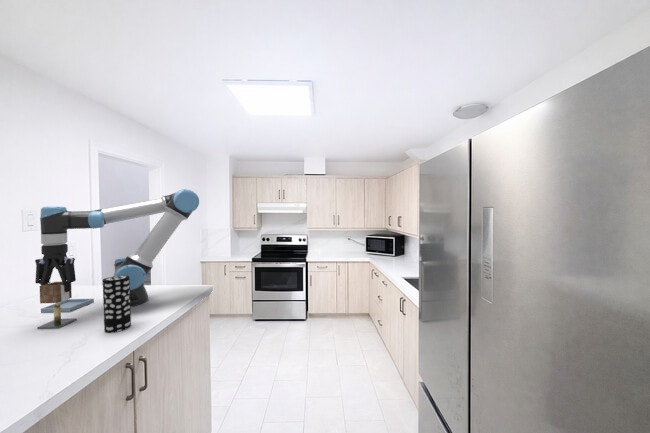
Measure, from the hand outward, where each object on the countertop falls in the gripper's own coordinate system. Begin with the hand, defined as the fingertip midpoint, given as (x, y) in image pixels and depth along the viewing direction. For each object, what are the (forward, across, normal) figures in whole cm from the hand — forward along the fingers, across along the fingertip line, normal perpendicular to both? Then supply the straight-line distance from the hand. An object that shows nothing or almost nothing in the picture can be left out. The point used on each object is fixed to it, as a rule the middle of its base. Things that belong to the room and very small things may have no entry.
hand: (56, 299), depth 108 cm
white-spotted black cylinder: (+10, -28, +5) cm, 30 cm away
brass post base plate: (+10, 0, 0) cm, 10 cm away
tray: (+10, +14, -20) cm, 27 cm away
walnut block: (0, 0, 0) cm, 0 cm away
